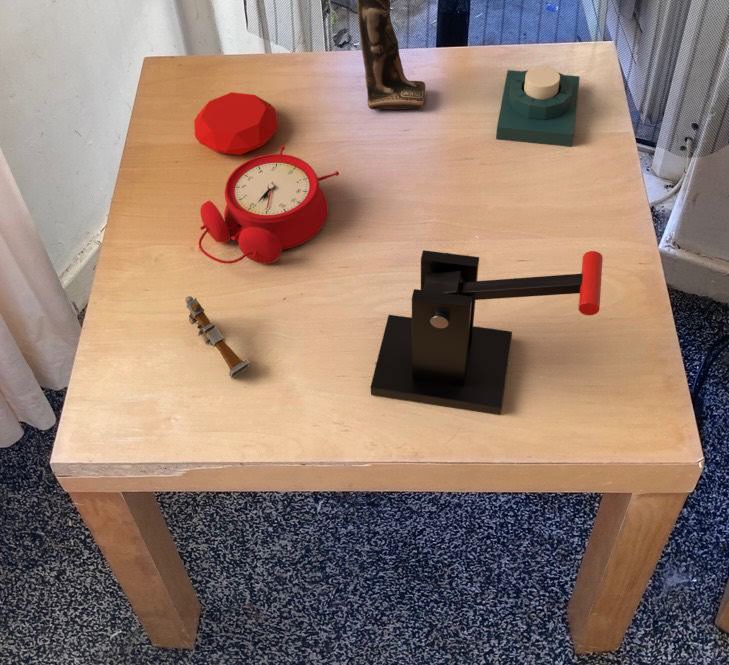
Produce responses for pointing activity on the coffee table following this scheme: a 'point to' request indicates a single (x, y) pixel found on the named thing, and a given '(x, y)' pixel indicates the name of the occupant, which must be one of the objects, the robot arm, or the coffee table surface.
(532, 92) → the power button
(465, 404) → the black lever base
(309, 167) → the alarm clock
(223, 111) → the gemstone
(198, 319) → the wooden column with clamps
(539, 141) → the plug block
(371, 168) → the coffee table surface
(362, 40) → the statue
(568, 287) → the red handled lever
